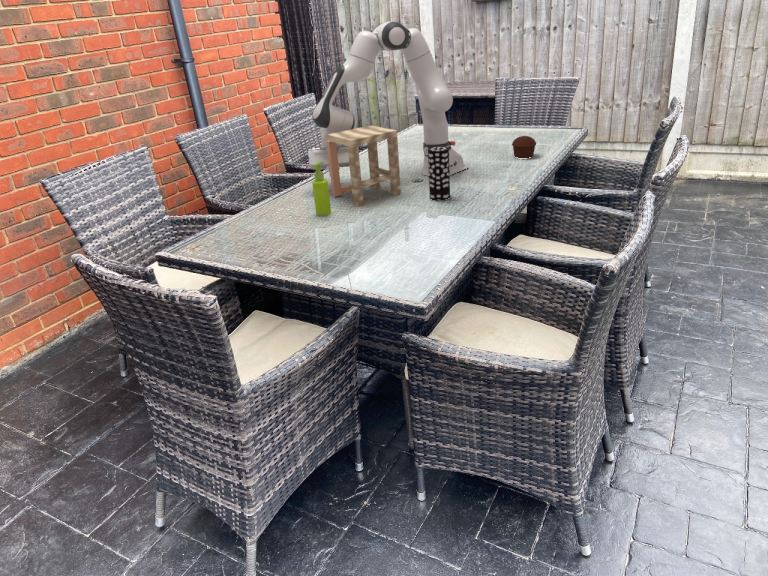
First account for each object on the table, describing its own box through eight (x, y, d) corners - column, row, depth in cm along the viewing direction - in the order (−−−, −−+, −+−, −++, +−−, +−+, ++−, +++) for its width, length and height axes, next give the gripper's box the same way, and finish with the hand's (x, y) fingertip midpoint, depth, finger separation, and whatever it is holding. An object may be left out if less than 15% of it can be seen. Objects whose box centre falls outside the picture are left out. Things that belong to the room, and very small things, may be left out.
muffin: (532, 153, 291) (533, 133, 287) (538, 159, 281) (539, 138, 277) (508, 155, 291) (509, 135, 287) (513, 161, 281) (514, 140, 277)
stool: (376, 185, 260) (371, 125, 249) (400, 193, 247) (396, 130, 235) (334, 197, 250) (327, 134, 238) (357, 206, 236) (351, 140, 224)
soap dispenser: (334, 210, 234) (328, 160, 225) (327, 216, 228) (321, 165, 219) (321, 209, 236) (315, 160, 227) (313, 215, 230) (307, 165, 221)
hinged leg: (359, 189, 256) (354, 136, 245) (362, 191, 253) (357, 137, 243) (332, 195, 251) (326, 141, 241) (335, 196, 249) (329, 142, 238)
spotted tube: (449, 201, 234) (447, 151, 225) (428, 201, 236) (426, 151, 227) (451, 194, 241) (450, 146, 232) (431, 194, 243) (429, 146, 234)
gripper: (306, 145, 250) (308, 173, 246) (354, 141, 251) (356, 170, 246) (308, 152, 256) (310, 181, 252) (355, 149, 257) (357, 177, 252)
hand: (333, 175), depth 249 cm, fingers closed
